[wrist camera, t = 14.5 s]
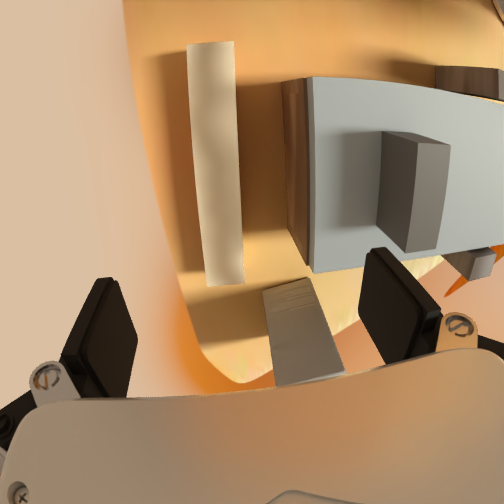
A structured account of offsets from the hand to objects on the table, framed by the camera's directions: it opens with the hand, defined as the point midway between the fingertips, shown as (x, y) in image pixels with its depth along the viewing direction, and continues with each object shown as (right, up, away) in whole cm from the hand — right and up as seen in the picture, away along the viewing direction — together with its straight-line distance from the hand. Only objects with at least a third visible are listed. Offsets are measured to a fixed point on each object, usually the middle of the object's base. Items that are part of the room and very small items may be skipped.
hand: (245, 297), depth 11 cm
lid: (+18, +9, +14) cm, 24 cm away
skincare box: (+5, -5, +29) cm, 30 cm away
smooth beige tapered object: (-3, +11, +20) cm, 23 cm away
